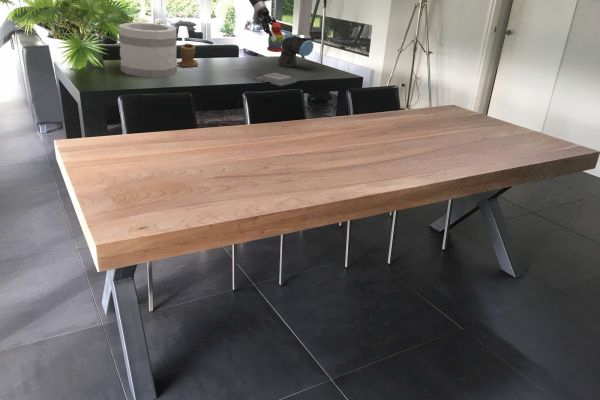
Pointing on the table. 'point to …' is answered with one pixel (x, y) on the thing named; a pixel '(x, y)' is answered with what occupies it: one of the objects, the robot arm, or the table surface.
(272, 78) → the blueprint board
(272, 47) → the stacking bear
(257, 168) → the table surface
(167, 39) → the storage basket
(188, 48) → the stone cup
